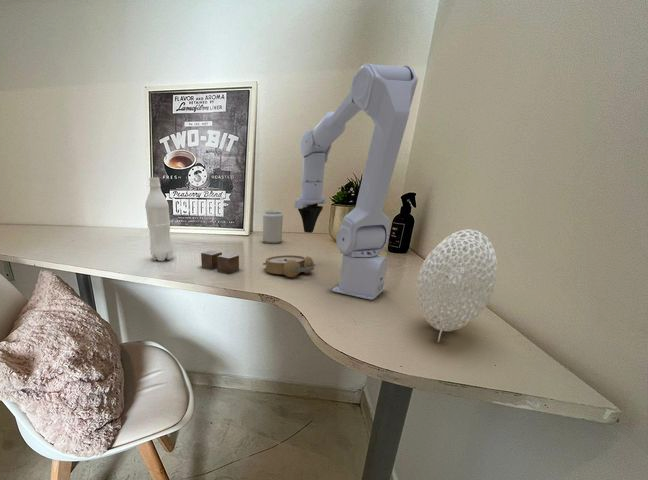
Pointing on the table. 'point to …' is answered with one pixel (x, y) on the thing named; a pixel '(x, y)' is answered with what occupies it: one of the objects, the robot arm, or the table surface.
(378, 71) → the robot arm
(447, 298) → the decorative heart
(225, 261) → the walnut block near
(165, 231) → the water bottle
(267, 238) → the can
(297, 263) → the alarm clock
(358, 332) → the table surface
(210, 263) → the walnut block far
